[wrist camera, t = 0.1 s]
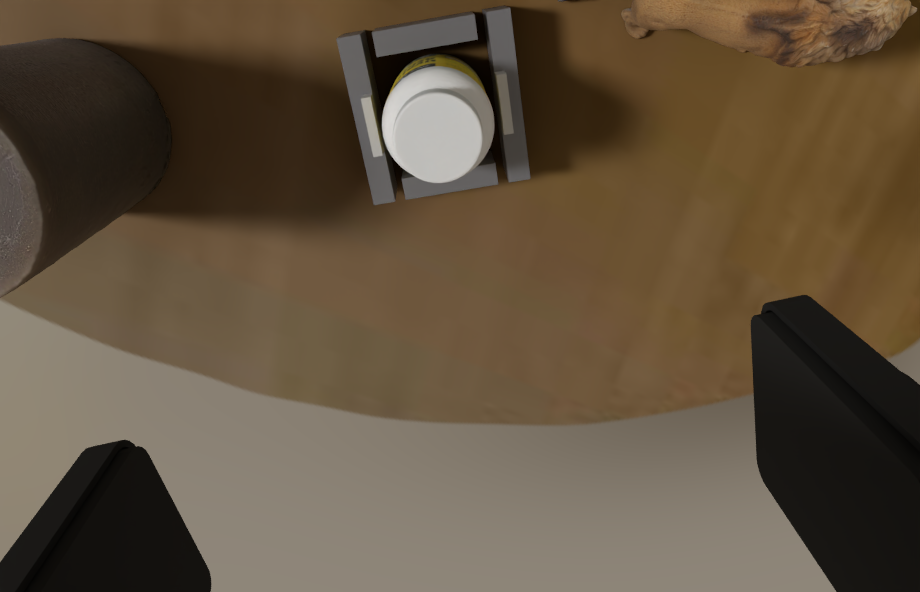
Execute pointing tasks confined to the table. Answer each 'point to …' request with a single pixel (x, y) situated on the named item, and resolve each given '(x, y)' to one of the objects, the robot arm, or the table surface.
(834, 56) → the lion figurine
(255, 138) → the table surface
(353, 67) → the clip holder
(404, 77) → the supplement bottle
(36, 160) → the pillar candle
